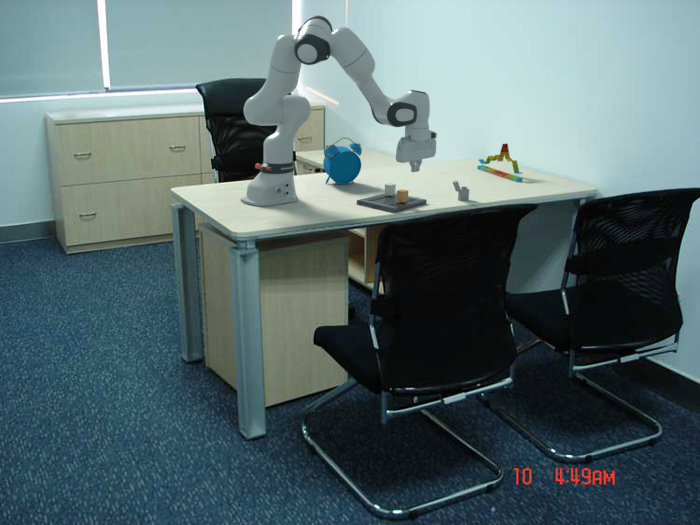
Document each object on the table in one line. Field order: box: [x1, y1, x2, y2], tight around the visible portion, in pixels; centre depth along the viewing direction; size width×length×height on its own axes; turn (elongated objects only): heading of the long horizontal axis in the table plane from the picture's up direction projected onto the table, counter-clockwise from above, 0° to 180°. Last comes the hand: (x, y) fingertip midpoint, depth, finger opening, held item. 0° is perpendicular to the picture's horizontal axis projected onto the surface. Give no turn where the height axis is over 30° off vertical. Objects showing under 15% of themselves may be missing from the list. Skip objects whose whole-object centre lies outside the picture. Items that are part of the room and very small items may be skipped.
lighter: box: [452, 180, 470, 202], centre depth 294 cm, size 7×2×8 cm, turn 117°
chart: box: [476, 143, 523, 183], centre depth 340 cm, size 30×3×15 cm, turn 25°
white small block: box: [383, 182, 397, 196], centre depth 293 cm, size 3×3×4 cm
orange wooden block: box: [396, 189, 409, 202], centre depth 283 cm, size 3×3×4 cm
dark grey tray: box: [356, 192, 427, 214], centre depth 287 cm, size 20×18×2 cm
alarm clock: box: [322, 136, 362, 185], centre depth 316 cm, size 17×10×20 cm, turn 116°
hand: (415, 171), depth 284 cm, fingers closed
